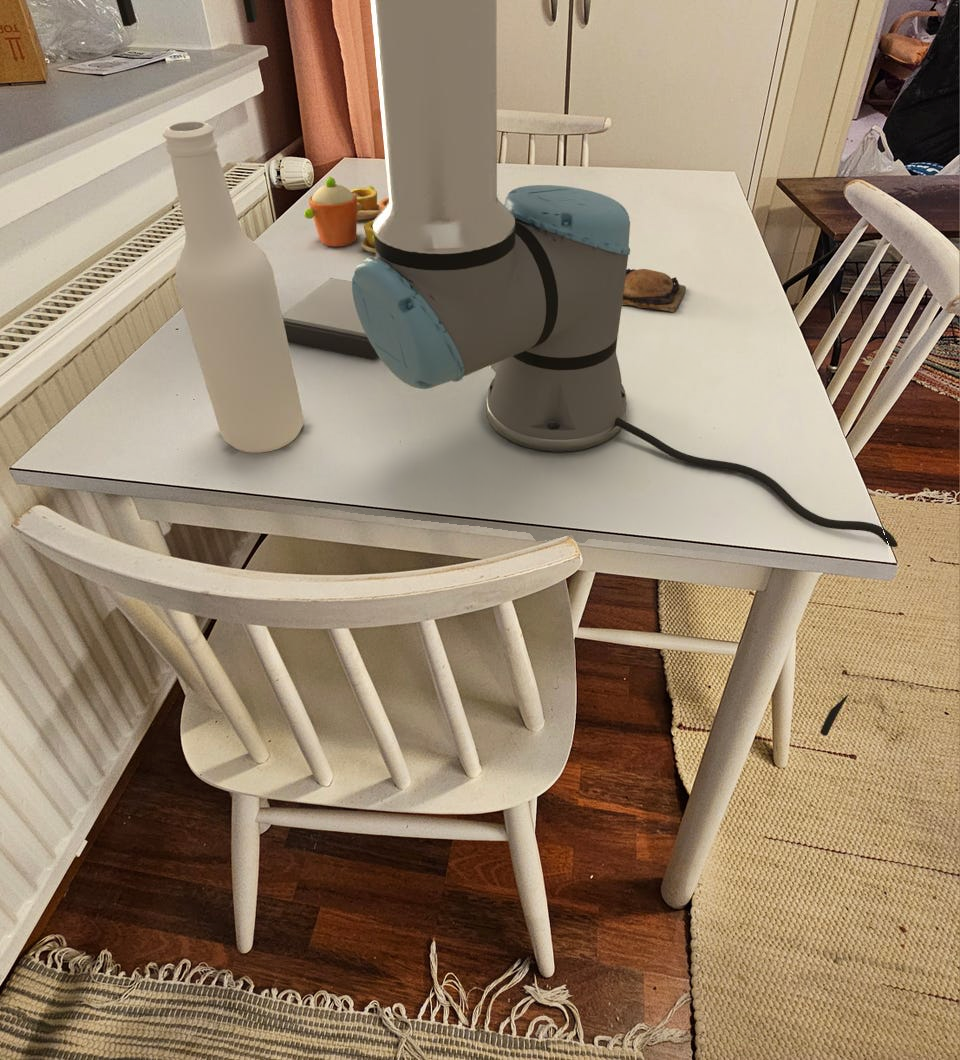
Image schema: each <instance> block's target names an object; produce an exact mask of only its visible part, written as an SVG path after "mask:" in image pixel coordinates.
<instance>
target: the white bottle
mask: <svg viewBox="0 0 960 1060" xmlns="http://www.w3.org/2000/svg"><path fill="white" fill-rule="evenodd" d="M214 131H215V130H214V127H213V126H212V125H210V124H209V123H208V122H206V121H202V120H186V121H180V122H174V123H171V124H169V125H167V126H165V128H164V129H163V131H162V136H163V138H164V139H165V140H166V147H165V148H166V152H167V153H168V154H169V156H170V160H171V161H170V162H171V166H172V171H173V175H174V182H175V185H176V190H177V196H178V201H179V207H180V213H181V216H182V221H183V222H182V223H183V226H184V231H185V237H184V238H185V240H184V245H183V247H182V249H181V251H180V253H179V255H178V257H177V260H176V263H175V267H174V269H175V270H174V271H175V287H176V290H177V293H178V294H177V295H178V297H179V300H180V303H181V307H182V311H183V314H184V317H185V320H186V323H187V327H188V330H189V333H190V336H191V339H192V344H193V347H194V351H195V353H196V357H197V360H198V363H199V366H200V367H199V368H200V370H201V373H202V376H203V379H204V383H205V386H206V390H207V393H208V396H209V399H210V402H211V403H210V404H211V407H212V409H213V413H214V417H215V420H216V424H217V426H218V429H219V433H220V435H221V438H222V439H223V440H224V441H225V443H227V444H229V445H230V446H231V447H233V448H234V449H236V450H238V451H241V452H245V453H249V454H250V453H252V454H259V453H260V454H261V453H267V452H272V451H276V450H278V449H282V448H284V447H285V446H287V445H289V444H290V443H292V442H293V441H294V440H296V438H297V437H299V434H300V432H301V429H302V427H303V425H304V422H305V419H304V414H303V409H302V403H301V400H300V399H301V397H300V395H299V394H300V393H299V388H298V385H297V380H296V376H295V371H294V370H295V369H294V365H293V360H292V356H291V355H292V354H291V351H290V346H289V342H288V341H287V336H286V331H285V326H284V321H283V317H282V315H283V313H282V307H281V303H280V298H279V293H278V289H277V283H276V278H275V275H274V274H275V273H274V270H273V267H272V265H271V263H270V261H269V259H268V256H267V254H266V253H265V252H264V250H262V248H261V247H260V246H259V245H258V244H257V243H255V241H253V240H252V239H251V238H250V237H248V236H247V235H246V234H245V232H244V230H243V229H242V227H241V225H240V222H239V218H238V215H237V211H236V209H235V206H234V203H233V199H232V196H231V192H230V190H229V187H228V183H227V180H226V176H225V173H224V170H223V167H222V163H221V160H220V157H219V154H218V151H217V148H218V143H217V141H216V139H214Z"/></svg>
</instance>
